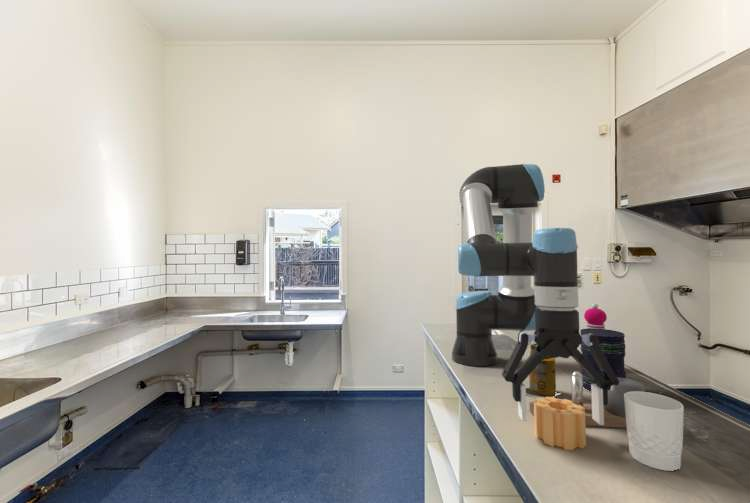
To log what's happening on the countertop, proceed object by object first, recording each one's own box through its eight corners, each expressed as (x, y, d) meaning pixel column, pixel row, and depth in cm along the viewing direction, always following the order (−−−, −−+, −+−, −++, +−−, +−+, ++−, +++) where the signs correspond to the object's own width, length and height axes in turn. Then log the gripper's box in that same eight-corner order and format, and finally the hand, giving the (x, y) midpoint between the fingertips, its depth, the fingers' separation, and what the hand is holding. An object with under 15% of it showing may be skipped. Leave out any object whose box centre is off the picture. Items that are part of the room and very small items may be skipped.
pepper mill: (584, 362, 112) (582, 301, 113) (610, 365, 108) (608, 302, 108) (582, 367, 106) (580, 303, 107) (610, 372, 102) (608, 305, 102)
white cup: (614, 448, 61) (612, 392, 61) (654, 445, 62) (652, 390, 62) (654, 475, 53) (651, 411, 53) (699, 472, 54) (697, 408, 54)
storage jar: (608, 399, 82) (606, 337, 82) (572, 385, 91) (571, 330, 92) (636, 394, 85) (634, 334, 86) (599, 381, 94) (597, 327, 95)
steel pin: (570, 407, 73) (569, 369, 74) (580, 407, 73) (579, 370, 73) (574, 411, 71) (573, 372, 72) (585, 411, 71) (584, 373, 71)
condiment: (563, 394, 86) (562, 346, 86) (544, 402, 81) (543, 351, 81) (536, 385, 92) (535, 341, 92) (517, 392, 87) (516, 345, 88)
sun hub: (597, 403, 75) (596, 376, 75) (631, 405, 74) (630, 377, 74) (615, 418, 68) (614, 388, 68) (653, 419, 67) (652, 389, 67)
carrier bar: (529, 410, 76) (529, 401, 76) (635, 415, 73) (635, 406, 74) (538, 423, 70) (538, 413, 70) (654, 429, 68) (654, 418, 68)
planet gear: (528, 425, 70) (528, 395, 70) (573, 427, 68) (572, 397, 69) (544, 448, 61) (543, 414, 61) (595, 451, 60) (594, 417, 60)
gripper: (493, 309, 63) (496, 425, 62) (639, 311, 60) (644, 433, 59) (485, 305, 71) (488, 408, 70) (614, 306, 67) (619, 414, 67)
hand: (559, 420), depth 64 cm, fingers open, 13 cm apart
